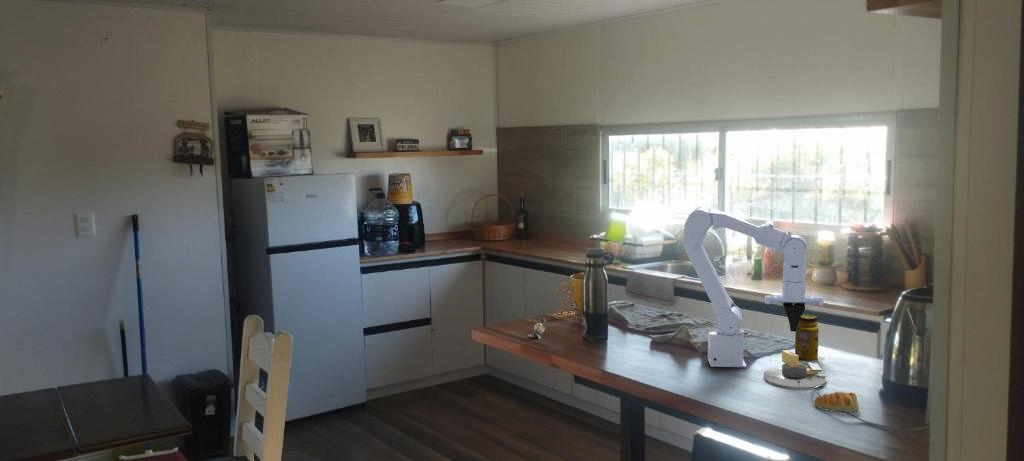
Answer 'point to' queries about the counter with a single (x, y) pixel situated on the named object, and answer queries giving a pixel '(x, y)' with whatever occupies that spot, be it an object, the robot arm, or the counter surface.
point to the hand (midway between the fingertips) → (793, 330)
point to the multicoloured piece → (794, 366)
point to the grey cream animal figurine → (539, 328)
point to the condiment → (807, 339)
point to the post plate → (807, 382)
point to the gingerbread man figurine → (567, 314)
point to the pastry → (838, 402)
